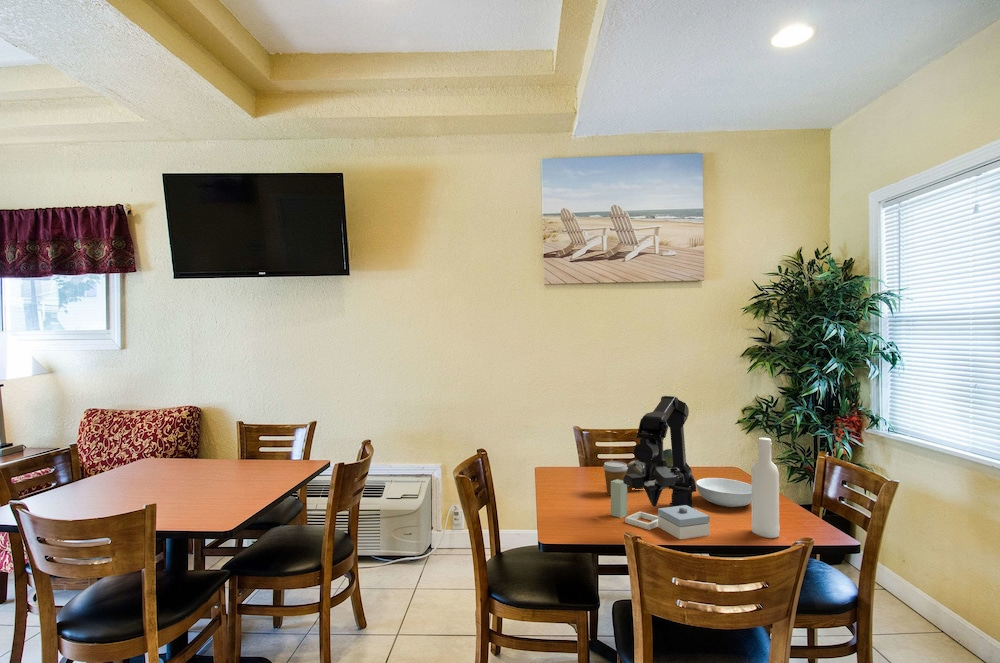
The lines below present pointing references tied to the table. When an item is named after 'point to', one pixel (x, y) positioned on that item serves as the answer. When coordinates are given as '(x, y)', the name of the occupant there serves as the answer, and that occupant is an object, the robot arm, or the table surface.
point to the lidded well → (684, 529)
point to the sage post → (618, 498)
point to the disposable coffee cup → (614, 472)
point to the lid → (683, 515)
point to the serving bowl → (725, 491)
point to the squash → (668, 457)
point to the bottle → (765, 493)
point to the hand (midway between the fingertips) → (653, 506)
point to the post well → (633, 521)
